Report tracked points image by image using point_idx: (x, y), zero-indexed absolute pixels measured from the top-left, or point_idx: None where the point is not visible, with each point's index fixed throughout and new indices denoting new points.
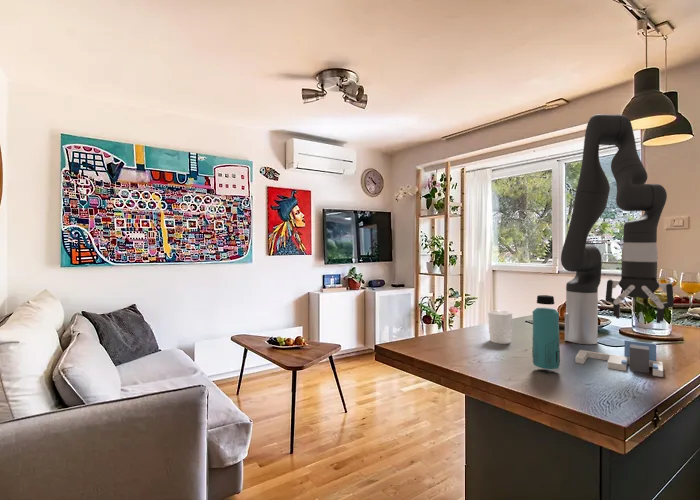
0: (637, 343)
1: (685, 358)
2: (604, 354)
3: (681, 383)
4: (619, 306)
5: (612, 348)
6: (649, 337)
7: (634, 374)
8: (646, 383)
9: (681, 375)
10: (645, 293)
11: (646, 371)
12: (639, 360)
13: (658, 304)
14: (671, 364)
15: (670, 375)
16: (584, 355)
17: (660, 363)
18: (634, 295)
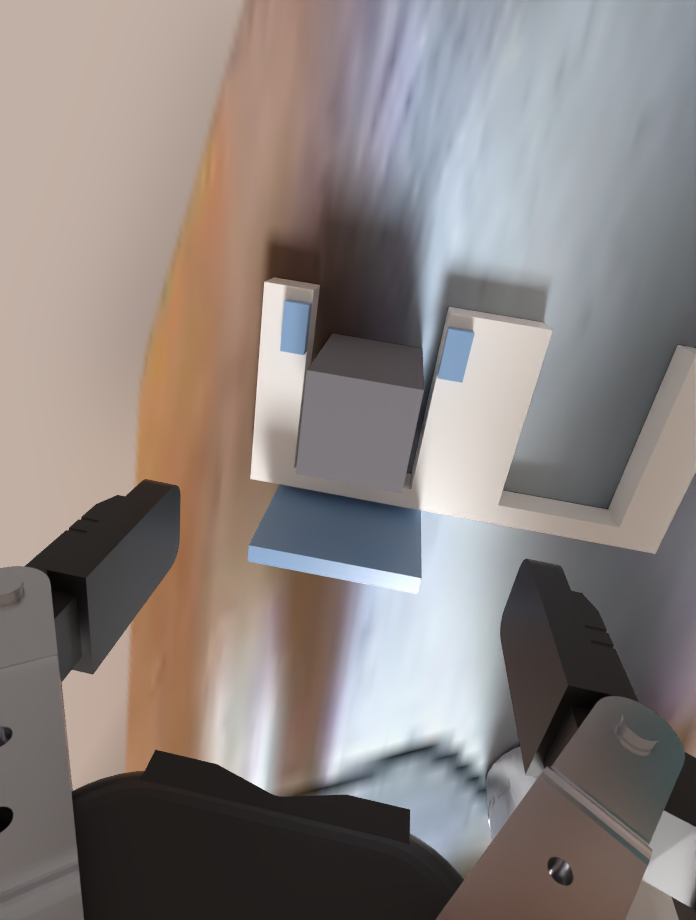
0: (349, 558)
1: (159, 660)
2: (527, 509)
3: (200, 195)
4: (562, 670)
5: (432, 714)
6: None
7: (414, 253)
8: (379, 64)
9: (190, 366)
10: (94, 871)
11: (343, 335)
12: (371, 356)
13: (17, 620)
14: (216, 545)
15: (237, 338)
16: (667, 430)
17: (261, 443)
18: (337, 845)
